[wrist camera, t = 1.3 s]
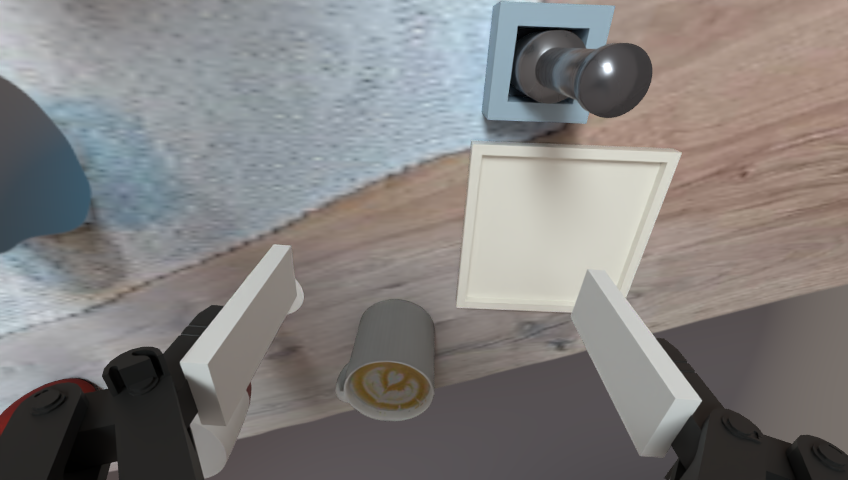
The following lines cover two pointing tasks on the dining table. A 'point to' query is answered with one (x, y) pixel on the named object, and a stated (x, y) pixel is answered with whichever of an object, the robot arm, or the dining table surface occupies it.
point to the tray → (555, 220)
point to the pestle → (581, 72)
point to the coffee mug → (390, 363)
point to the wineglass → (221, 439)
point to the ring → (506, 18)
